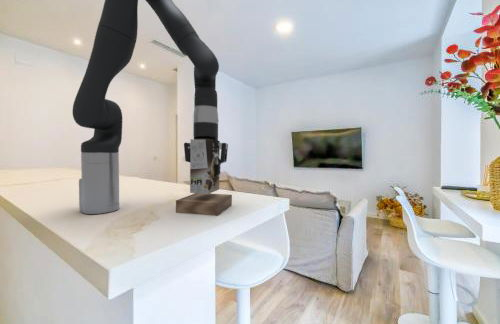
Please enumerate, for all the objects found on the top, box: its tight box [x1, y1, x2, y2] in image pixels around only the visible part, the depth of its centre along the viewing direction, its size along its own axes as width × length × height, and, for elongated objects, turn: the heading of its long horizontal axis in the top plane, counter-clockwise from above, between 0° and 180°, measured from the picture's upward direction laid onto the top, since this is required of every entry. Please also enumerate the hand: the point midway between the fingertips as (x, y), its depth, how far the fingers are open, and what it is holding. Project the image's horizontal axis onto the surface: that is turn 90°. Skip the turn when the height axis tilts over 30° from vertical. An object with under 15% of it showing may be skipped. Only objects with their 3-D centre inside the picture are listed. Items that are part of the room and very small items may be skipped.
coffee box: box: [189, 138, 221, 194], centre depth 69 cm, size 9×6×16 cm
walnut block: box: [175, 193, 233, 217], centre depth 70 cm, size 13×13×4 cm
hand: (205, 175), depth 69 cm, fingers closed on coffee box, 6 cm apart
